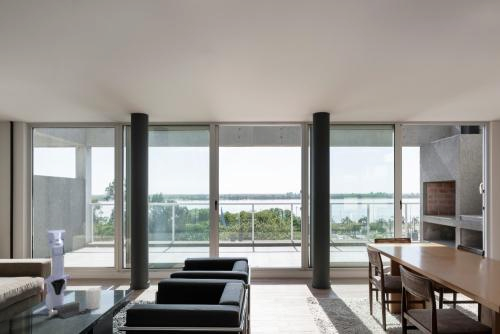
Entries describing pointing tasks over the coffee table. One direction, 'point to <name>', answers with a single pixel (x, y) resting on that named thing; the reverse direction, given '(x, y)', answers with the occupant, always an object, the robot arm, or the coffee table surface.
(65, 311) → the hinge leaves
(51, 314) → the hinge pin
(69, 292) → the coffee table surface
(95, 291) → the white cup
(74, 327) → the coffee table surface
